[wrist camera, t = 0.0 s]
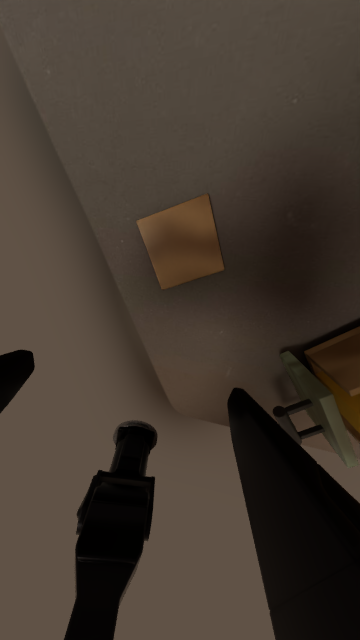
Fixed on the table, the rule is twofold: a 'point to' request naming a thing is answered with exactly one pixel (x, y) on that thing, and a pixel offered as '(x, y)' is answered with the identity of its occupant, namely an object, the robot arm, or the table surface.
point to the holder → (343, 400)
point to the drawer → (325, 392)
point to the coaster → (182, 242)
